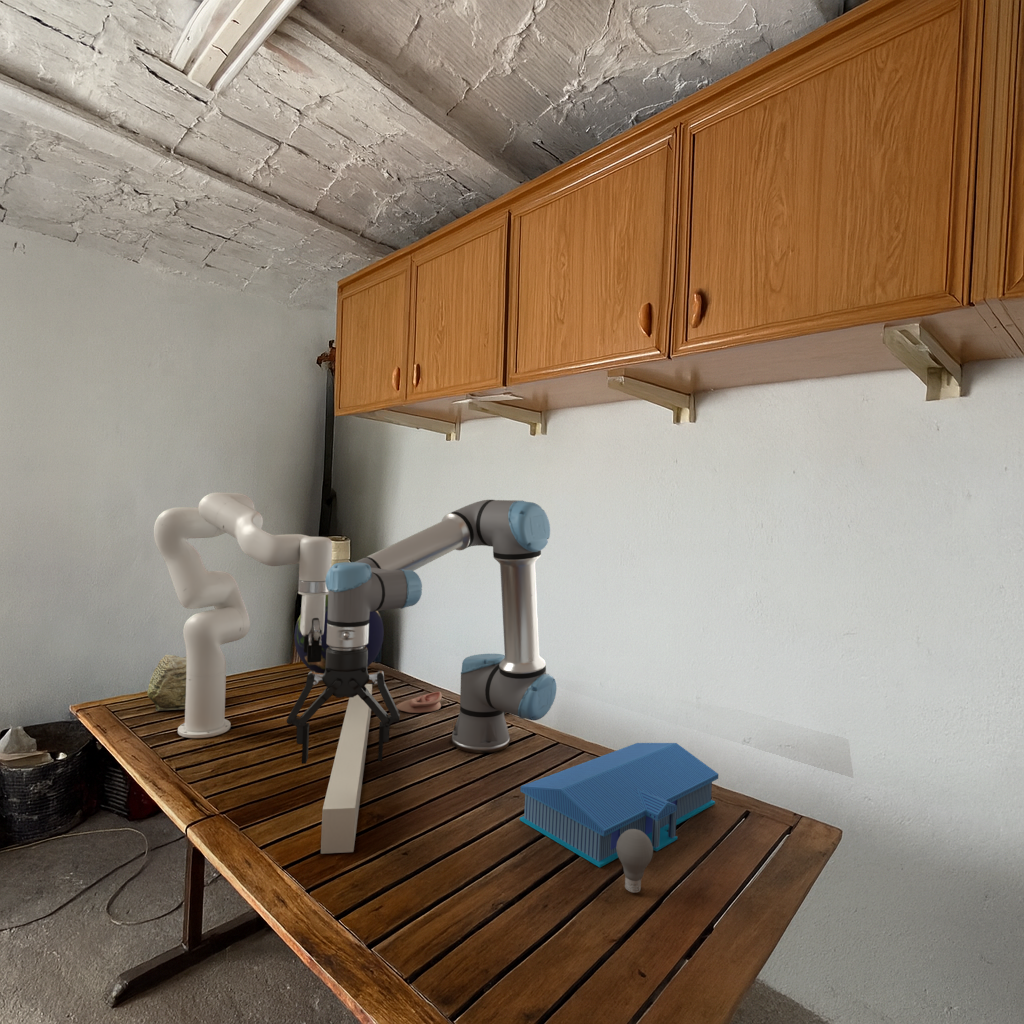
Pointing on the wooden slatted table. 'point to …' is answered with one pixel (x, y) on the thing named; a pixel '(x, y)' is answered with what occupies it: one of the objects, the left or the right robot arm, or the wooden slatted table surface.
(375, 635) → the globe
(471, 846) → the wooden slatted table surface
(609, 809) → the model building
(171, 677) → the fossil
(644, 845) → the light bulb
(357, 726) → the post
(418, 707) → the anatomical model
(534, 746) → the wooden slatted table surface
